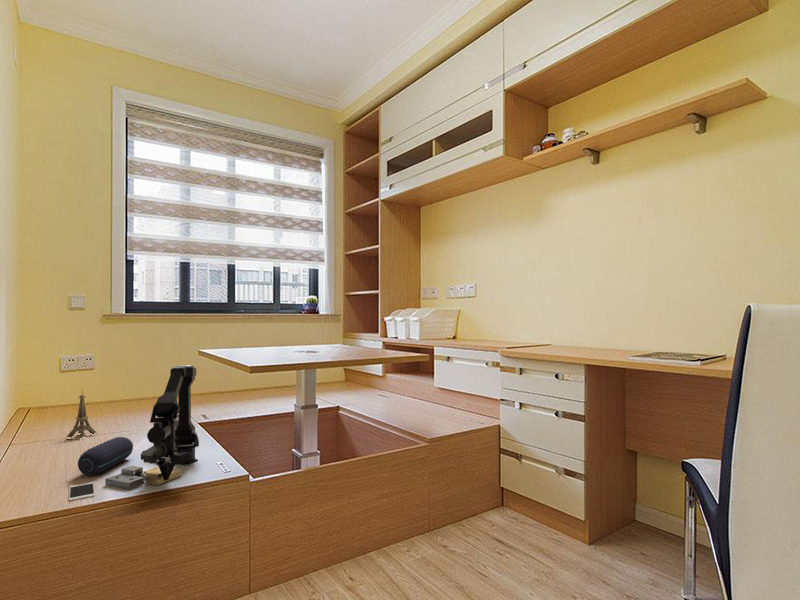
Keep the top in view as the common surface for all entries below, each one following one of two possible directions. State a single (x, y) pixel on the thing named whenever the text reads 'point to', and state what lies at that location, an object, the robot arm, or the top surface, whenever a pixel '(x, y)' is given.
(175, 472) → the tan flat block
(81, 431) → the eiffel tower
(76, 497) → the smartphone
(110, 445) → the portable speaker
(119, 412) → the top surface
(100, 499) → the top surface
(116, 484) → the grey stepped block
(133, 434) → the top surface
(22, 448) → the top surface
